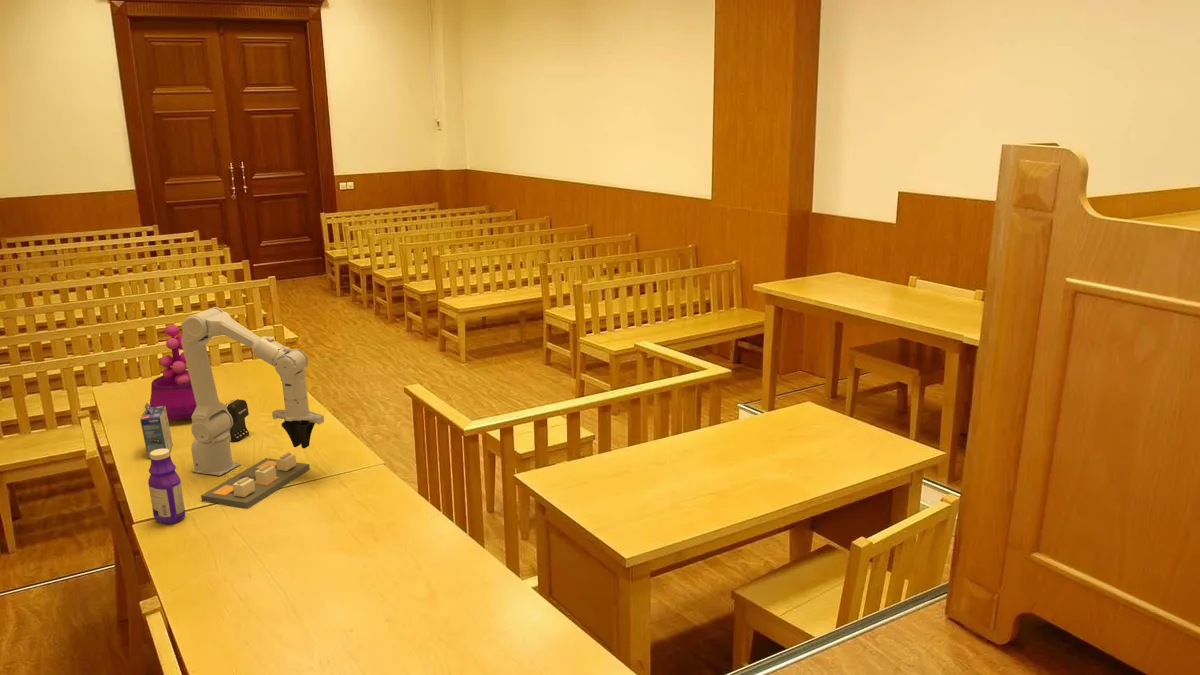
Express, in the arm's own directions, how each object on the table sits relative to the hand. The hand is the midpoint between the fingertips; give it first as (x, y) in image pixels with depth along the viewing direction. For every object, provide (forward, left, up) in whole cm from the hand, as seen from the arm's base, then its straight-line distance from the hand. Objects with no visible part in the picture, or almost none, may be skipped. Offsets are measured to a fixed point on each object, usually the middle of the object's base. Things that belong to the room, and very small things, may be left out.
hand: (301, 446), depth 226 cm
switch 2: (-5, -8, -7) cm, 12 cm away
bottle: (-15, -30, -9) cm, 35 cm away
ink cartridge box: (-50, +2, -9) cm, 51 cm away
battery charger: (-35, +17, -9) cm, 40 cm away
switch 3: (-5, 0, -7) cm, 9 cm away
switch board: (-8, -8, -8) cm, 14 cm away
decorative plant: (-65, +27, -9) cm, 71 cm away
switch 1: (-5, -16, -7) cm, 18 cm away
